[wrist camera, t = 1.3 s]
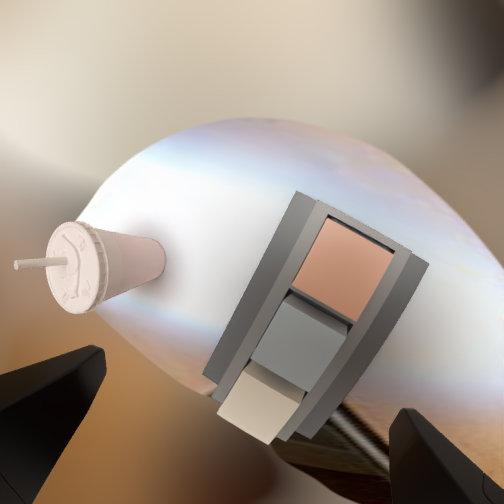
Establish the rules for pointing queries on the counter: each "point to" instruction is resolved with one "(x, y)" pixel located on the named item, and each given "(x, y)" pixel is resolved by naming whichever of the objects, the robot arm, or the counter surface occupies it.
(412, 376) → the counter surface
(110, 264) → the smoothie
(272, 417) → the key ivory
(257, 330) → the keypad
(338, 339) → the key slate
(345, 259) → the key terracotta
